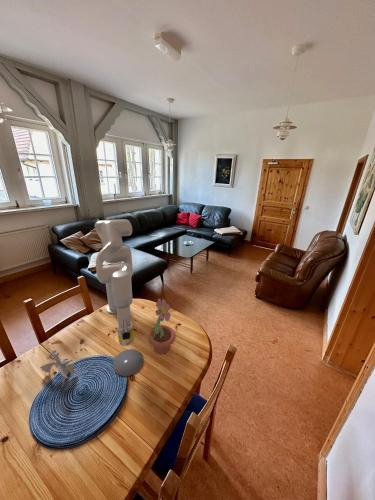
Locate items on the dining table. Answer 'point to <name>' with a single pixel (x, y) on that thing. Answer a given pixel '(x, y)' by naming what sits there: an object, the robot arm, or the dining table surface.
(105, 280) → the robot arm
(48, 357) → the fairy figurine
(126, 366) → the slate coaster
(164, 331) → the decorative flower
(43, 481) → the dining table surface
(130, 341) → the supplement bottle
